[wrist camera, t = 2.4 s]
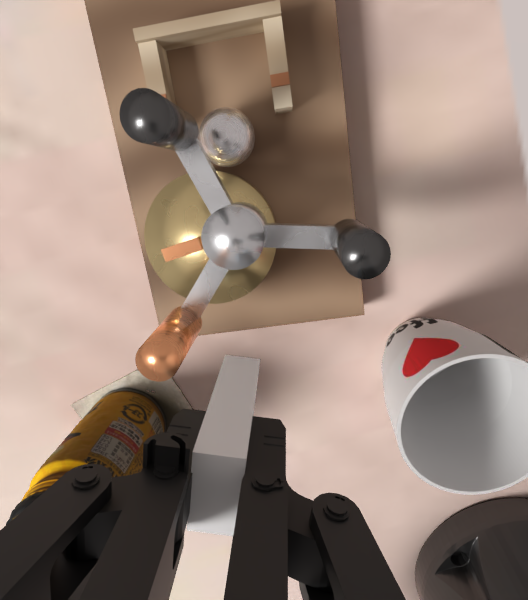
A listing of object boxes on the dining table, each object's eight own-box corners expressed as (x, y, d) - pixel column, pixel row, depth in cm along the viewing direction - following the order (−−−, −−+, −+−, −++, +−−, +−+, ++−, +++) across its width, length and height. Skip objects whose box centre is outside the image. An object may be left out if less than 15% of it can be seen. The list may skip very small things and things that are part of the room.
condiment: (71, 403, 34) (-39, 519, 23) (159, 357, 32) (88, 456, 21) (123, 472, 36) (44, 614, 24) (209, 431, 34) (168, 561, 23)
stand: (359, 306, 30) (371, 326, 26) (170, 330, 32) (152, 353, 28) (325, -56, 25) (332, -104, 20) (94, -8, 26) (57, -44, 22)
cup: (479, 293, 30) (570, 348, 20) (474, 397, 32) (555, 492, 22) (361, 301, 30) (395, 359, 21) (365, 403, 33) (397, 498, 23)
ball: (260, 163, 26) (256, 161, 23) (209, 171, 26) (199, 170, 23) (252, 107, 25) (247, 97, 22) (199, 116, 26) (187, 108, 22)
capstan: (313, 73, 24) (328, 12, 15) (366, 265, 27) (406, 310, 18) (115, 149, 26) (22, 134, 17) (185, 322, 29) (137, 388, 20)
